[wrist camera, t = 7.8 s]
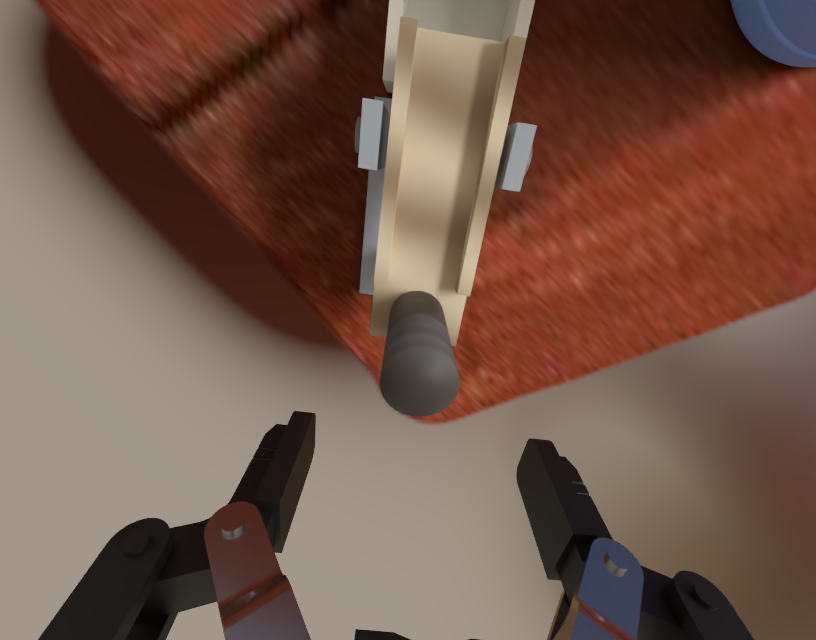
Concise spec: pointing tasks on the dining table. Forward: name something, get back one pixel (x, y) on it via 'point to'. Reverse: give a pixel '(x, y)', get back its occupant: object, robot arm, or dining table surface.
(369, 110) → the stand
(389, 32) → the gray open tray
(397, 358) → the lever
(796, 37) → the water jug
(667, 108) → the dining table surface
